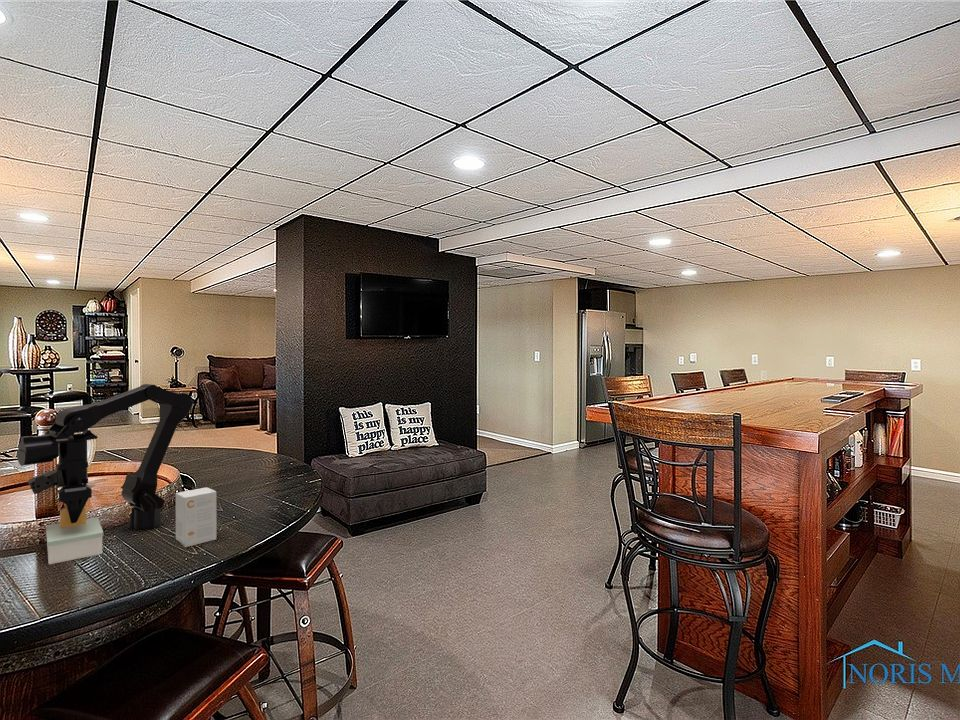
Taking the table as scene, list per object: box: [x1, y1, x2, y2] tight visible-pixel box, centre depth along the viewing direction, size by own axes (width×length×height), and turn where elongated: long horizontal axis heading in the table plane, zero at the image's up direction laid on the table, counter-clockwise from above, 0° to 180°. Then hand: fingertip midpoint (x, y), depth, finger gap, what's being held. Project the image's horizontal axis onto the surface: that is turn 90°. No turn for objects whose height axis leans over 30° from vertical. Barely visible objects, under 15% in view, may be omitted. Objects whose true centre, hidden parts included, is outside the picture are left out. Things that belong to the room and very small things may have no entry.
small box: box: [175, 487, 218, 548], centre depth 137 cm, size 8×6×13 cm
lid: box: [45, 505, 104, 548], centre depth 128 cm, size 14×10×6 cm
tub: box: [46, 537, 103, 565], centre depth 128 cm, size 14×10×5 cm
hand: (73, 520), depth 131 cm, fingers open, 4 cm apart
